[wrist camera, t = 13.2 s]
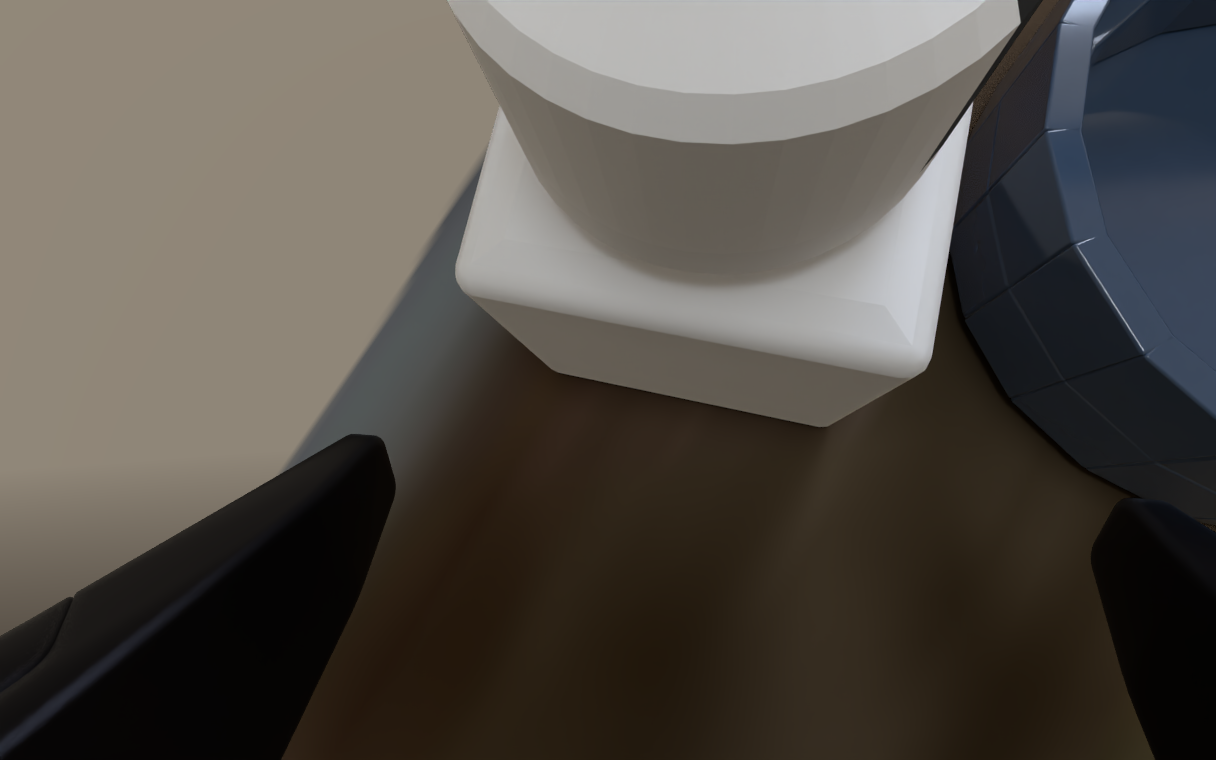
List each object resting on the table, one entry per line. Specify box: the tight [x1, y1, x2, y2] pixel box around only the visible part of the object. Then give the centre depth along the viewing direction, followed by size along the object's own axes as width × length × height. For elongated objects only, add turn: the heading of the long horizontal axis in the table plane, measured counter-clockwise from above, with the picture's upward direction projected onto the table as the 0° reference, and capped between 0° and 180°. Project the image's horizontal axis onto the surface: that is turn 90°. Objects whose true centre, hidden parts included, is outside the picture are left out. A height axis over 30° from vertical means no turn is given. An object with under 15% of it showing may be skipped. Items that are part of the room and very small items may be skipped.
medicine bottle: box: [447, 0, 1042, 427], centre depth 11 cm, size 7×7×12 cm
